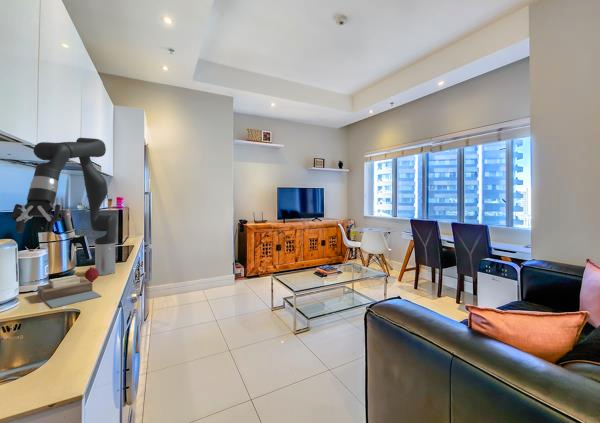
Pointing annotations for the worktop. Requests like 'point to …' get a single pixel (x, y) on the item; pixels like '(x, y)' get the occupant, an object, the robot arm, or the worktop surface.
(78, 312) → the worktop surface
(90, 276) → the onion
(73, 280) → the tile
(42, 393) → the worktop surface
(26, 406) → the worktop surface
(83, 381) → the worktop surface
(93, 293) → the mat
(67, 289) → the deck
